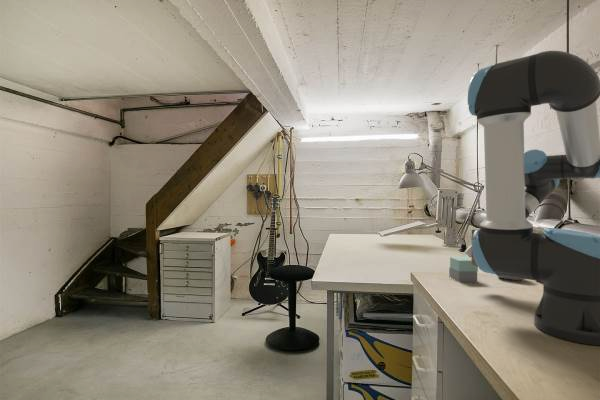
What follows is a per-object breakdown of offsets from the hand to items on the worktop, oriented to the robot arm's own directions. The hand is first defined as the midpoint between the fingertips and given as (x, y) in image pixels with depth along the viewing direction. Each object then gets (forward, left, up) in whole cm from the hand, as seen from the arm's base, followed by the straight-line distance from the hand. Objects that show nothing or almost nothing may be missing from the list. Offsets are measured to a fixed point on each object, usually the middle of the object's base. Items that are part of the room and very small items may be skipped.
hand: (472, 256), depth 109 cm
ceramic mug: (+28, +5, -12) cm, 31 cm away
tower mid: (+10, +12, -8) cm, 17 cm away
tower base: (+10, +12, -12) cm, 19 cm away
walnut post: (+3, -1, -3) cm, 5 cm away
